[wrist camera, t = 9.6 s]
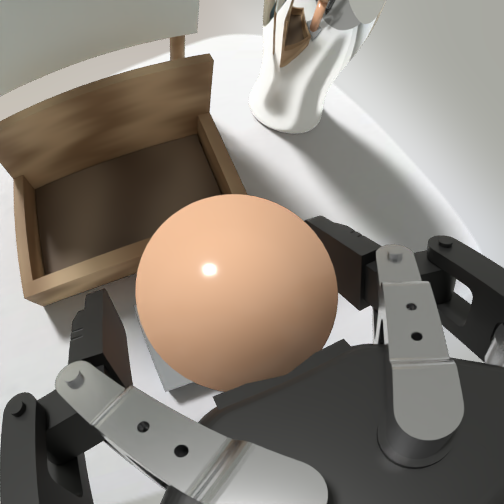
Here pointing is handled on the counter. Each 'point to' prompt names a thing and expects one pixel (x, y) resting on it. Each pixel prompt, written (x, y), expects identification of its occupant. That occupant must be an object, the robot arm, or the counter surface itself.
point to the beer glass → (306, 57)
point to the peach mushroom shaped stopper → (235, 291)
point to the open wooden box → (110, 171)
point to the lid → (81, 32)
